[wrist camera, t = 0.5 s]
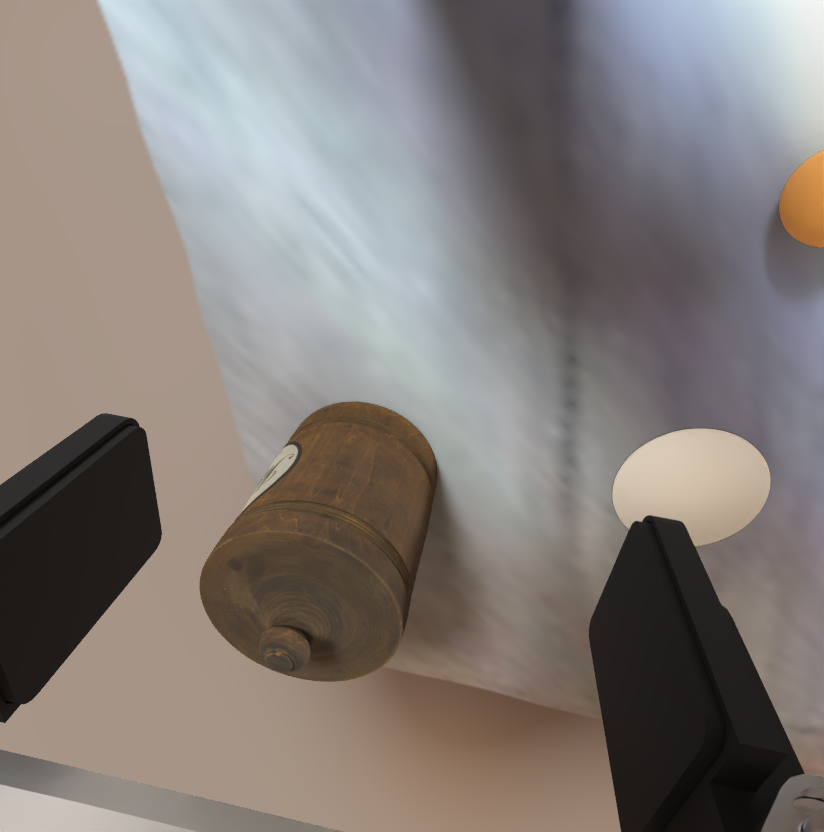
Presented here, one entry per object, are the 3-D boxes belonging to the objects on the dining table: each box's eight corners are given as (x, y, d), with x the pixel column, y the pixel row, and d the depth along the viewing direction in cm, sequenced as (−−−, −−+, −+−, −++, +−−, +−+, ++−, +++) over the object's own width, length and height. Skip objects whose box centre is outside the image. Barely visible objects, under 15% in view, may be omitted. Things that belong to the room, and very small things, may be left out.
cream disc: (635, 418, 45) (635, 419, 45) (795, 440, 44) (797, 441, 43) (596, 533, 51) (597, 535, 51) (736, 555, 50) (737, 557, 50)
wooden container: (281, 395, 49) (139, 564, 30) (438, 405, 47) (393, 593, 28) (299, 519, 56) (194, 720, 37) (436, 532, 54) (400, 751, 35)
